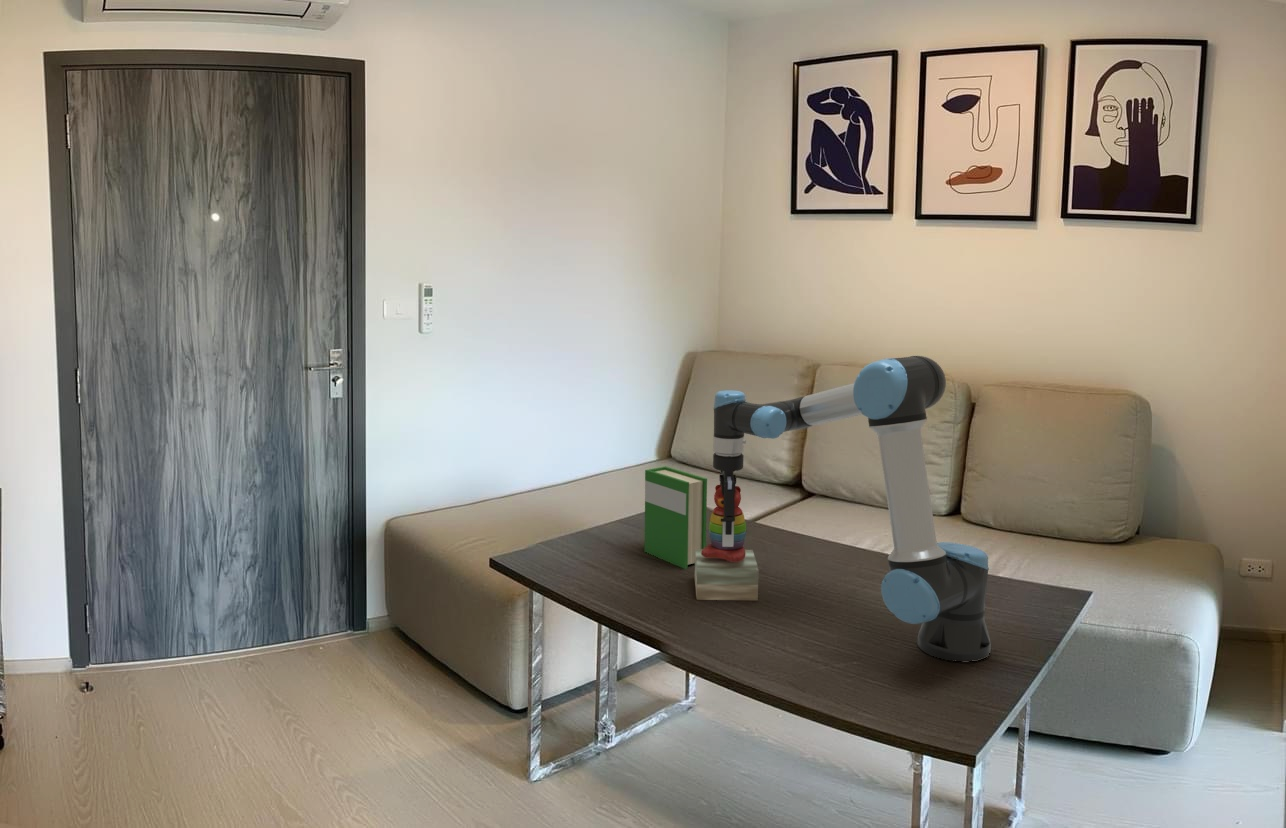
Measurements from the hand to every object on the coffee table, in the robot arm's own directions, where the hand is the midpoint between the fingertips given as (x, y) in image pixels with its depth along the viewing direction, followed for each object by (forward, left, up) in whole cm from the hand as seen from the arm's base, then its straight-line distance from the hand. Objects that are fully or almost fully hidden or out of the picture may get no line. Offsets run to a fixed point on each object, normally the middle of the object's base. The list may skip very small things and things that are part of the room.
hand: (726, 539), depth 238 cm
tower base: (0, 0, -13) cm, 13 cm away
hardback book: (+24, +13, -13) cm, 30 cm away
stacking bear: (0, 0, -4) cm, 4 cm away
